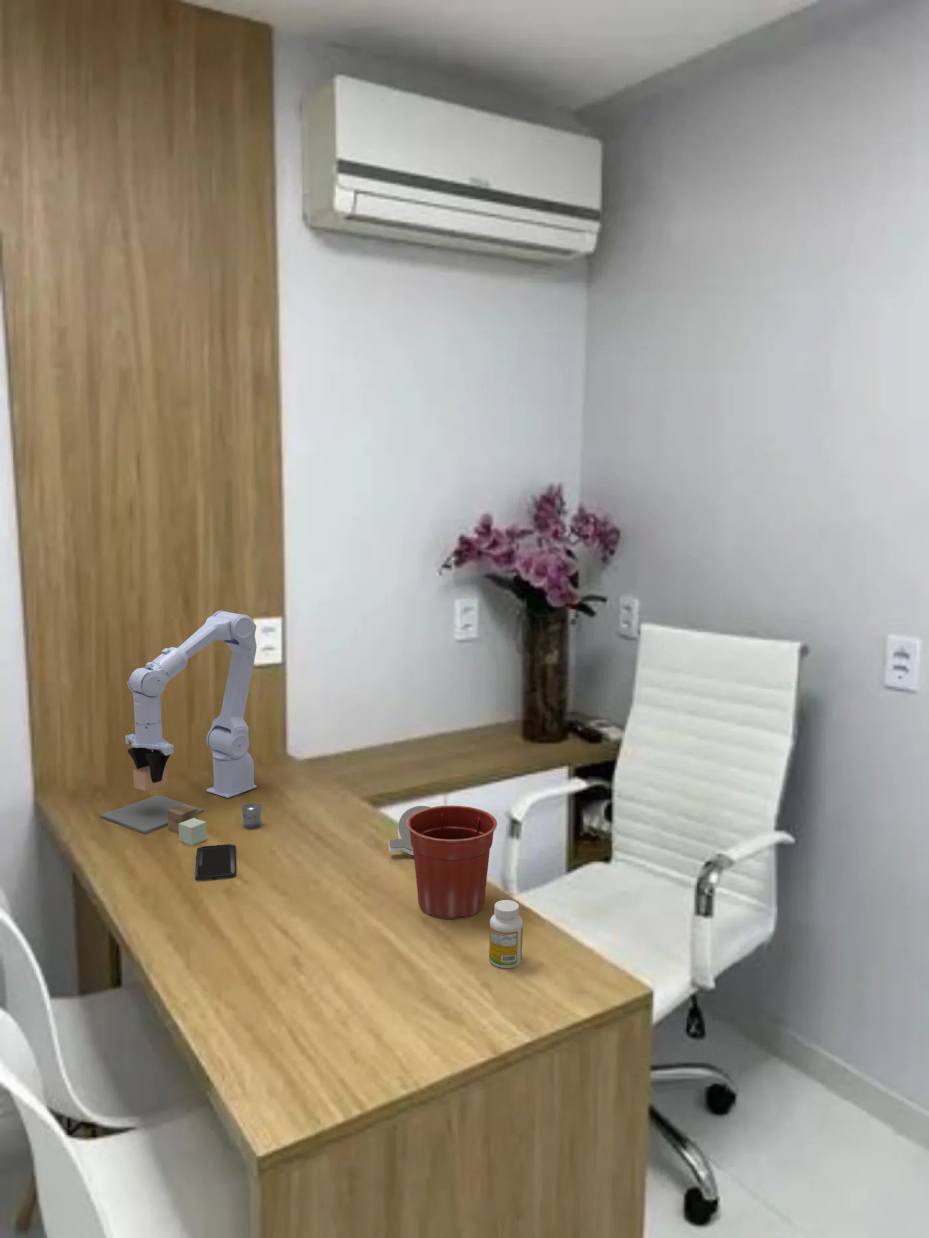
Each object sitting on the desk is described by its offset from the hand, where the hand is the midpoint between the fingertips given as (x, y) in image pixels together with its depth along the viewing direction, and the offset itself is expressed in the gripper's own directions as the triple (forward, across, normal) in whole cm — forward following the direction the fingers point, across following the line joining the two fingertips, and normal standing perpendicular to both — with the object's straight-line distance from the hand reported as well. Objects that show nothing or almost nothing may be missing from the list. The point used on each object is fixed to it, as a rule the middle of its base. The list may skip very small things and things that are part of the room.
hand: (150, 779), depth 212 cm
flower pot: (+9, +80, +5) cm, 81 cm away
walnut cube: (+8, +12, -1) cm, 15 cm away
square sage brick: (+8, +19, -4) cm, 21 cm away
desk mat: (+8, 0, 0) cm, 8 cm away
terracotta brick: (+1, 0, 0) cm, 1 cm away
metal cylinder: (+8, +23, +9) cm, 26 cm away
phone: (+9, +32, -9) cm, 34 cm away
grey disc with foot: (+9, +61, +21) cm, 66 cm away
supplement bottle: (+9, +99, -6) cm, 100 cm away
